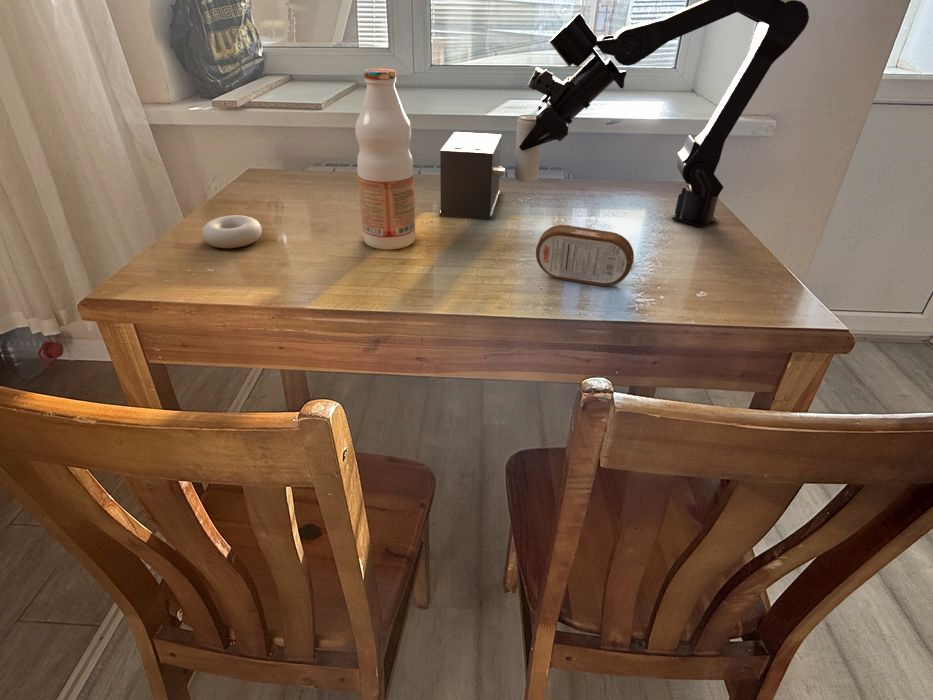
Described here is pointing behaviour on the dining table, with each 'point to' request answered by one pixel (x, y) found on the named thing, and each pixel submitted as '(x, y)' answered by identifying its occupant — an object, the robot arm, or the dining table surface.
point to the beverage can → (526, 151)
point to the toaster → (470, 175)
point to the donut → (231, 231)
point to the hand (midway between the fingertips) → (521, 145)
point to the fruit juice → (385, 165)
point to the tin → (584, 255)
